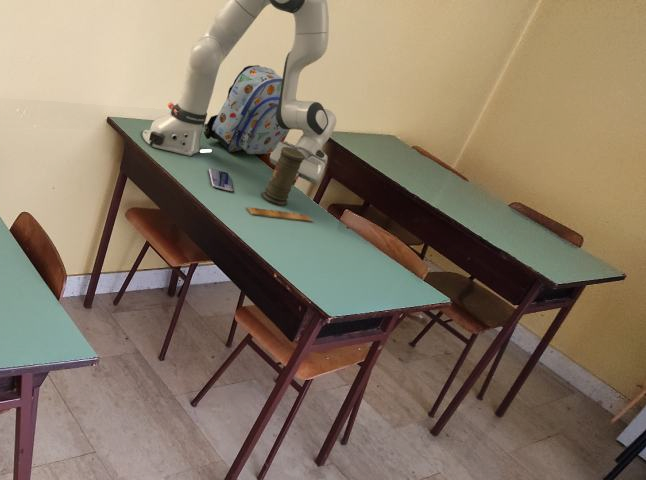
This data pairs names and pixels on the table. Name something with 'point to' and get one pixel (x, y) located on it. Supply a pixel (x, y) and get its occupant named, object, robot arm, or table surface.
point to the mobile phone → (220, 180)
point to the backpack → (250, 113)
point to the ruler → (279, 214)
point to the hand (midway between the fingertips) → (285, 182)
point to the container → (283, 176)
